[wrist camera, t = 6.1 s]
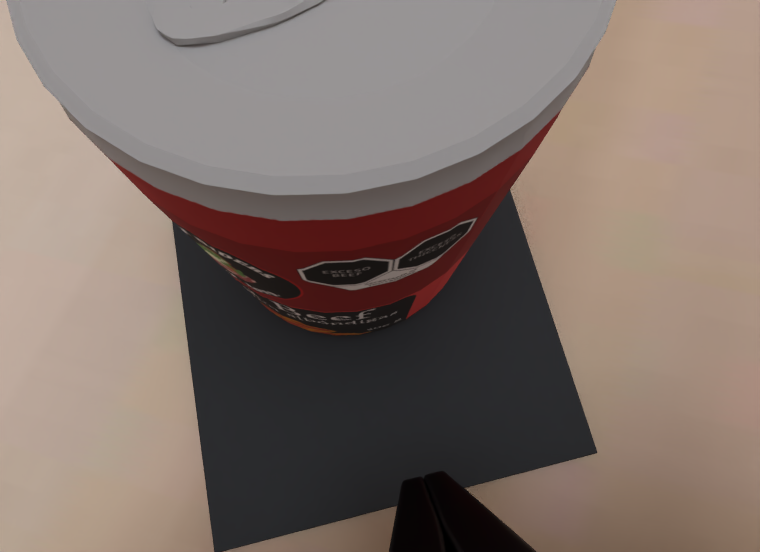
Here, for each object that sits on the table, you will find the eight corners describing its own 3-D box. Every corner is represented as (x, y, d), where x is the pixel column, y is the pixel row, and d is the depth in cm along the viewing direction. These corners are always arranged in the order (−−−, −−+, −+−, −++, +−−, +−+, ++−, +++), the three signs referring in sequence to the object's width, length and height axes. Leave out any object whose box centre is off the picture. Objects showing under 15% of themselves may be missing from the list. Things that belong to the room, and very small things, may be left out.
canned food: (192, 259, 16) (-152, -25, 5) (328, 94, 18) (274, -359, 7) (377, 388, 15) (403, 353, 4) (502, 200, 17) (730, -144, 6)
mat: (594, 452, 15) (597, 452, 15) (216, 551, 14) (214, 553, 14) (479, 105, 18) (481, 102, 18) (166, 164, 17) (164, 162, 17)
